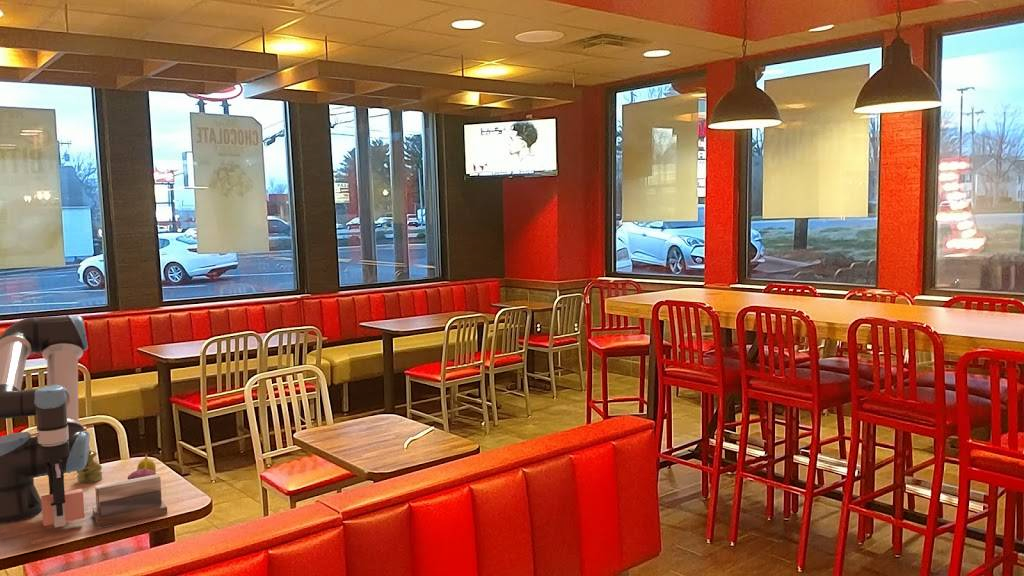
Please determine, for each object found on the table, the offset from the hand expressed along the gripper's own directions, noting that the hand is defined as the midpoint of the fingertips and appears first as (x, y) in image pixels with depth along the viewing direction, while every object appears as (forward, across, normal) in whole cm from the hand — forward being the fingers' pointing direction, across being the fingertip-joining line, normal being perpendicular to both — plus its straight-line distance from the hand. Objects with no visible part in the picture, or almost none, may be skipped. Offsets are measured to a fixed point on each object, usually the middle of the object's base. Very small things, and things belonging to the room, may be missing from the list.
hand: (59, 523), depth 227 cm
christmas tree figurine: (+2, -40, +14) cm, 42 cm away
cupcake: (+2, -18, +26) cm, 31 cm away
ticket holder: (+2, 0, +18) cm, 18 cm away
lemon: (+2, -26, +29) cm, 39 cm away
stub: (-1, 0, +1) cm, 1 cm away
